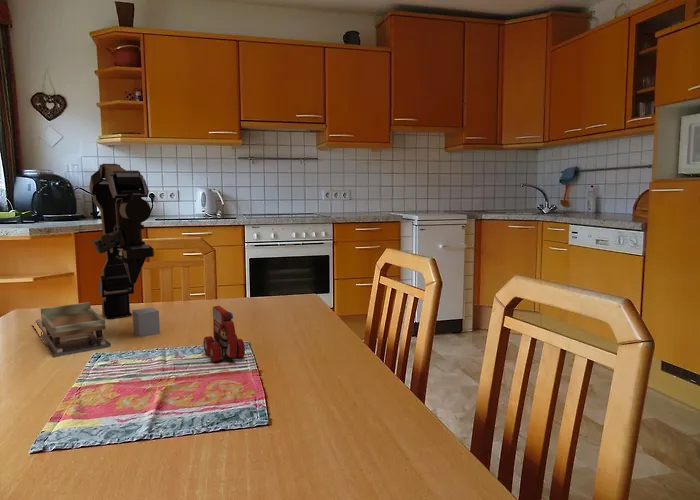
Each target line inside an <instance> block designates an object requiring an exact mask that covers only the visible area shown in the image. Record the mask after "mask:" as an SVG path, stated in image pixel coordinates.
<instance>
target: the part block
mask: <svg viewBox="0 0 700 500" xmlns="http://www.w3.org/2000/svg"><path fill="white" fill-rule="evenodd" d="M131 311H132V326H133V327H132V328H133V334H134V335H136V337H138V338H144V337H150V336H156V335H160V334H161V333H160V332H161V329H160V328H161V326H160V311H159V310H158V309H156V308H154V307H153V306H151V307H146V308H138V309H132V310H131Z"/></svg>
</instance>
